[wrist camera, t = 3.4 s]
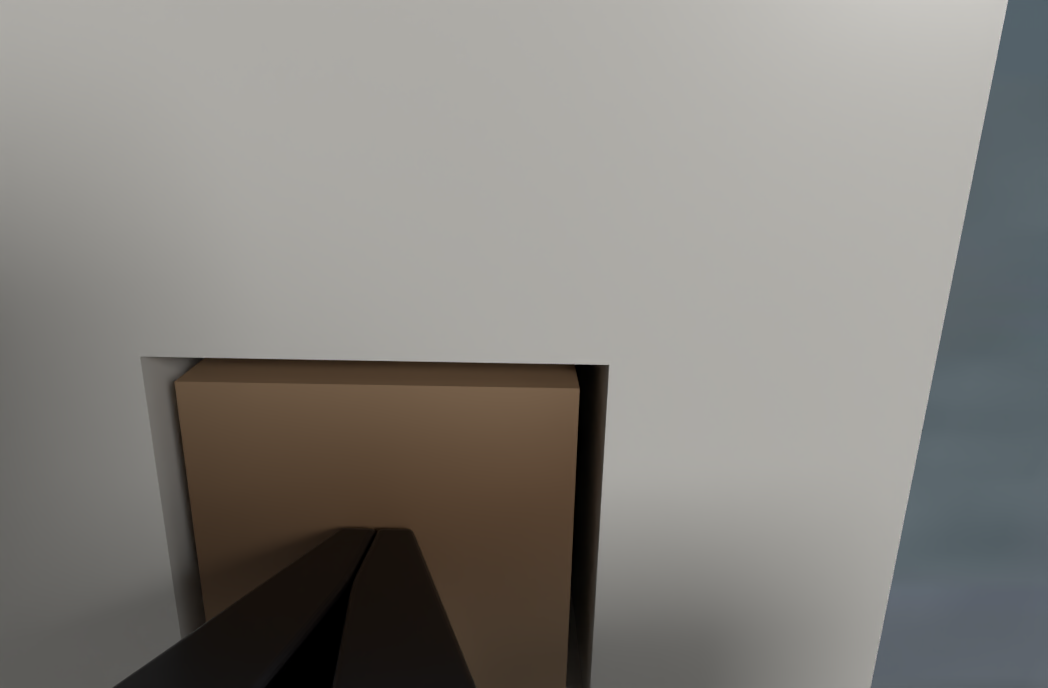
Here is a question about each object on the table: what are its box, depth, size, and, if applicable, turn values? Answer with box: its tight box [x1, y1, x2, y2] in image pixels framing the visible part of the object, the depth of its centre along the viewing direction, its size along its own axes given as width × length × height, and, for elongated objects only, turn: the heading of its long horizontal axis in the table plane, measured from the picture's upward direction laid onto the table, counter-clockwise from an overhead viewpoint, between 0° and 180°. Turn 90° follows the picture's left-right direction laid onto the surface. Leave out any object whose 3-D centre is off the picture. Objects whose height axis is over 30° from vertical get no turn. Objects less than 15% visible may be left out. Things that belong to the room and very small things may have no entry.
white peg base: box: [0, 0, 1008, 688], centre depth 10 cm, size 24×12×6 cm, turn 179°
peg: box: [174, 358, 580, 688], centre depth 11 cm, size 4×4×5 cm
